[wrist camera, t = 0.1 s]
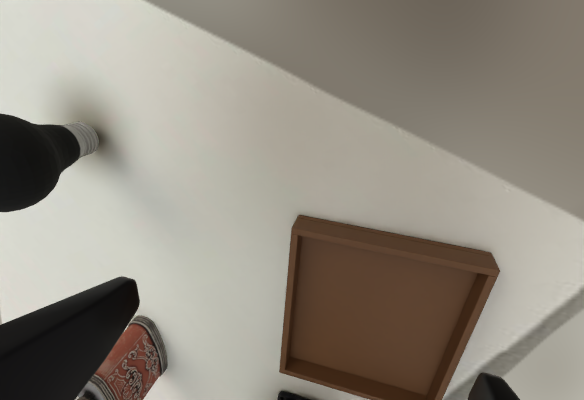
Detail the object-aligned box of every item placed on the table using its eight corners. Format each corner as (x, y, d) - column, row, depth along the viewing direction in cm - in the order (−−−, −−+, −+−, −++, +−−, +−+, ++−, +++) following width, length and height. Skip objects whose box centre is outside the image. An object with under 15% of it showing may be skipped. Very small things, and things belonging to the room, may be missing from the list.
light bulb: (111, 92, 24) (-51, 121, 15) (136, 169, 26) (8, 231, 17) (51, 100, 25) (-126, 128, 17) (79, 170, 28) (-63, 228, 19)
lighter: (128, 313, 34) (39, 404, 26) (155, 318, 34) (73, 414, 25) (146, 366, 38) (73, 463, 29) (172, 372, 37) (104, 473, 28)
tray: (430, 395, 28) (433, 418, 26) (285, 353, 31) (279, 372, 29) (491, 252, 21) (500, 270, 20) (298, 214, 24) (291, 227, 22)
